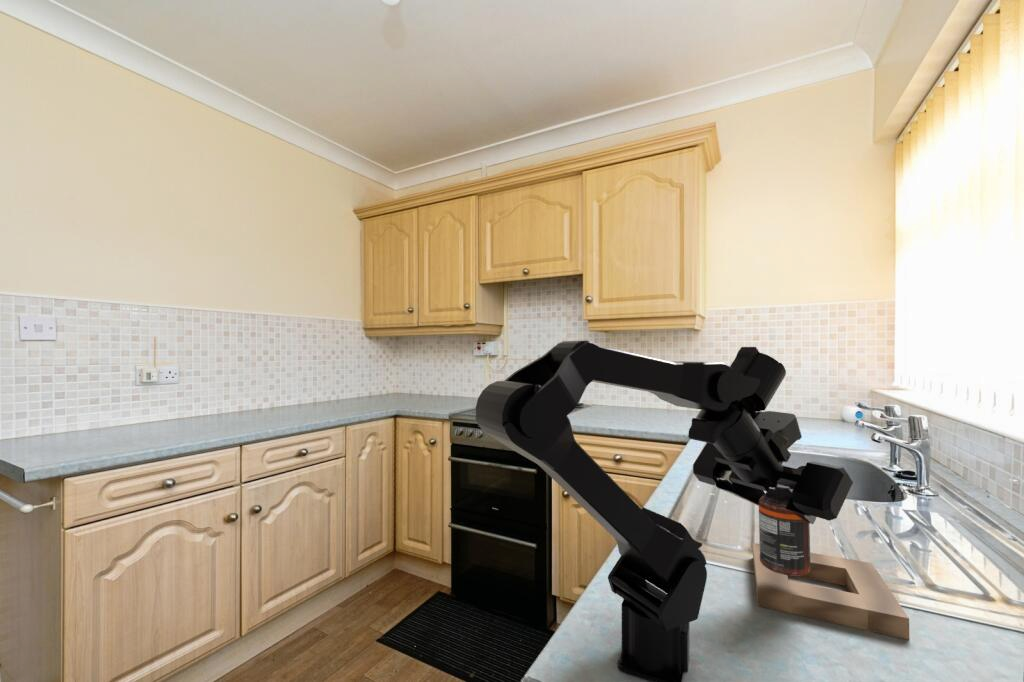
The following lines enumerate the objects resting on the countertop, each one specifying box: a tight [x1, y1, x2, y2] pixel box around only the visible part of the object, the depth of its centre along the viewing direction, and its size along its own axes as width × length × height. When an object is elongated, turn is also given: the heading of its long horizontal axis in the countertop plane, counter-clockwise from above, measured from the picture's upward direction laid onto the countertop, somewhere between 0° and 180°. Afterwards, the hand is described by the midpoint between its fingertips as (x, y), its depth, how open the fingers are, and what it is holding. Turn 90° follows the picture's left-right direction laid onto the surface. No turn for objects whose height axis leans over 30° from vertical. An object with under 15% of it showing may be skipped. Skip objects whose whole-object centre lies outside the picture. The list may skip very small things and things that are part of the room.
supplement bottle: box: [758, 484, 811, 577], centre depth 61 cm, size 6×6×11 cm
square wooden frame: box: [752, 542, 910, 640], centre depth 65 cm, size 16×16×2 cm
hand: (789, 513), depth 62 cm, fingers closed on supplement bottle, 6 cm apart
